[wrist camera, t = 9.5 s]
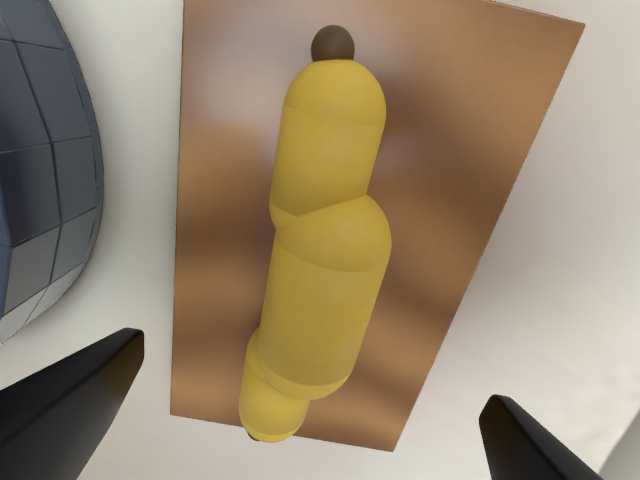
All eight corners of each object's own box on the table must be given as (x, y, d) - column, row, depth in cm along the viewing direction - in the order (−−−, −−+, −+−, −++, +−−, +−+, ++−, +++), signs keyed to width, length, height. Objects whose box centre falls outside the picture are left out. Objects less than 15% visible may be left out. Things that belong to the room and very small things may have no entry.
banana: (324, 416, 17) (322, 500, 13) (242, 402, 17) (219, 484, 13) (433, 58, 10) (485, 39, 7) (301, 26, 10) (286, -9, 7)
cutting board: (389, 432, 19) (393, 453, 18) (178, 396, 18) (169, 415, 17) (562, 30, 11) (588, 23, 10) (200, -59, 10) (185, -78, 9)
